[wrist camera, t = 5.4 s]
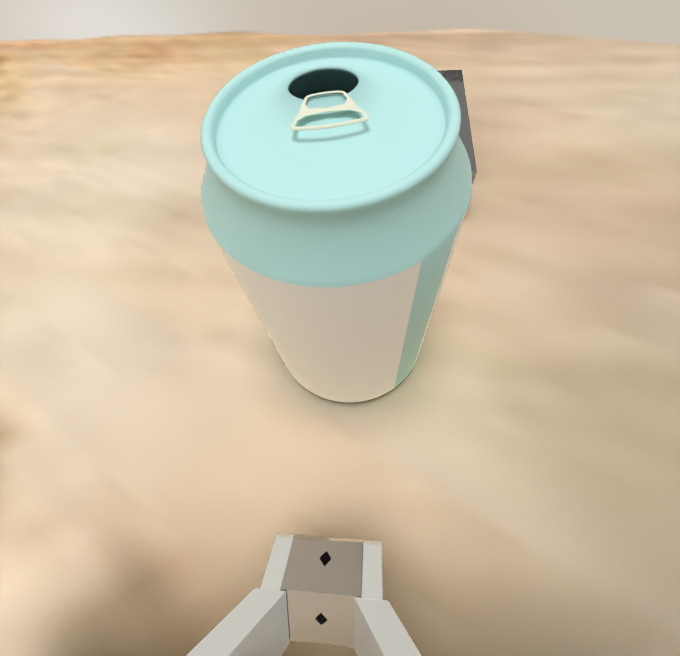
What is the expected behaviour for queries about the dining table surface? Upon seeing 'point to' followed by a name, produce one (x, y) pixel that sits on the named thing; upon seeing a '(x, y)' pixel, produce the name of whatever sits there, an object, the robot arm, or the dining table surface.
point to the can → (338, 206)
